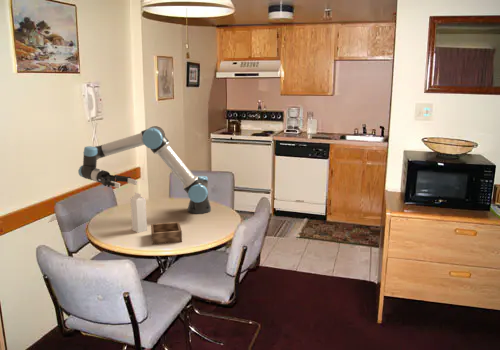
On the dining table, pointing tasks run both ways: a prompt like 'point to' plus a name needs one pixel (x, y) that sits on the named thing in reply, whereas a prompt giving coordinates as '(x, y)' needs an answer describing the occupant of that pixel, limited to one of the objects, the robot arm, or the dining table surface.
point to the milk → (138, 213)
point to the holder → (166, 233)
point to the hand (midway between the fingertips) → (128, 184)
